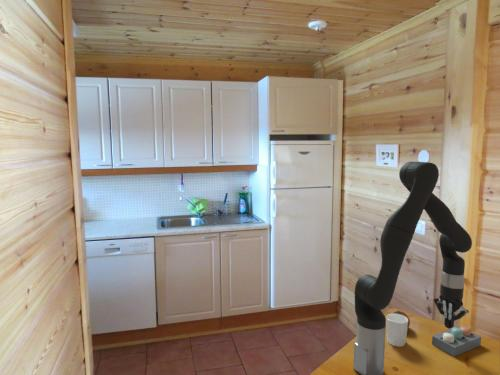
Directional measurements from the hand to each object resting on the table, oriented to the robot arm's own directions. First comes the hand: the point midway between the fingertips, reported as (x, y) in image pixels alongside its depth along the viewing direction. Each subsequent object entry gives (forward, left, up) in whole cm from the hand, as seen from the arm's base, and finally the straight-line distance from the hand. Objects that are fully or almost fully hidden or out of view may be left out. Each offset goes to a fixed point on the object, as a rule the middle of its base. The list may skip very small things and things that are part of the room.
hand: (448, 327), depth 134 cm
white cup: (-14, +12, -9) cm, 20 cm away
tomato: (-4, +19, -9) cm, 21 cm away
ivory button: (0, 0, -7) cm, 7 cm away
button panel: (+5, 0, -8) cm, 10 cm away
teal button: (+5, 0, -6) cm, 8 cm away
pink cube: (+10, 0, -7) cm, 12 cm away
